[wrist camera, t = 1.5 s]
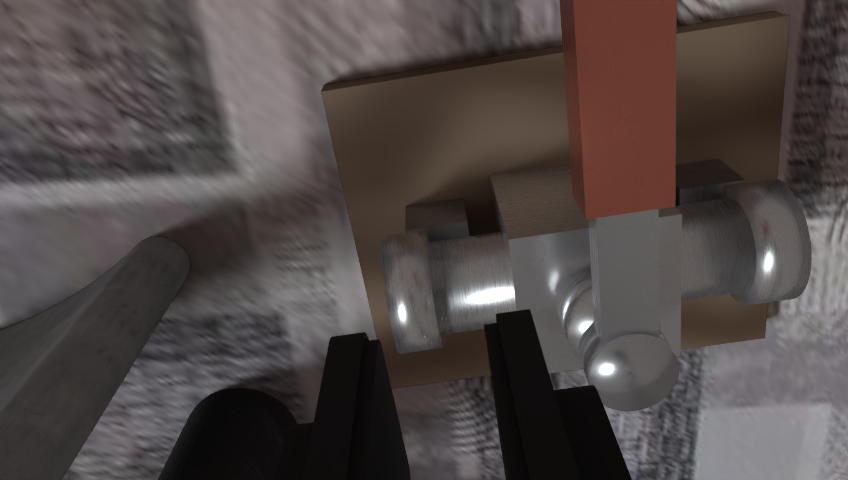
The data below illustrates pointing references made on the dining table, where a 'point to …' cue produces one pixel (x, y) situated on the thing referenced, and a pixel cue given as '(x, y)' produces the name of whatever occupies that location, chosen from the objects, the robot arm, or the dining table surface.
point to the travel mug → (230, 438)
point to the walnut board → (539, 156)
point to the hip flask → (79, 359)
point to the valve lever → (623, 184)
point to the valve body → (587, 257)
